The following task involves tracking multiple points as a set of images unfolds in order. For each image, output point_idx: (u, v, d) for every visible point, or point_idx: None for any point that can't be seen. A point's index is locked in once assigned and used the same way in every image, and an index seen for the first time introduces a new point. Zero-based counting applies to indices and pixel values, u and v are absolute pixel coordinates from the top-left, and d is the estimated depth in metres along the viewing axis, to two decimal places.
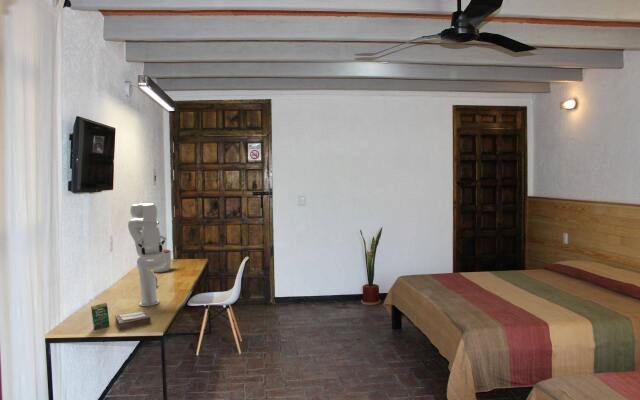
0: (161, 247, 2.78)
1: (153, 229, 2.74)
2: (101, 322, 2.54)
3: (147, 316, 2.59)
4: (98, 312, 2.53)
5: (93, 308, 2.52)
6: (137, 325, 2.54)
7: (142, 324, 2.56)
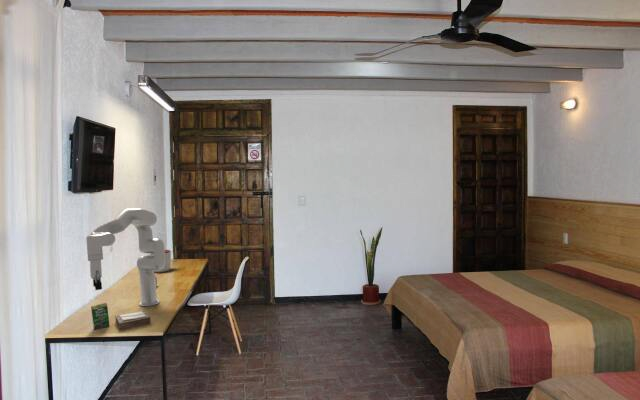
0: None
1: None
2: (101, 322, 2.54)
3: (147, 316, 2.59)
4: (98, 312, 2.53)
5: (93, 308, 2.52)
6: (137, 325, 2.54)
7: (142, 324, 2.56)
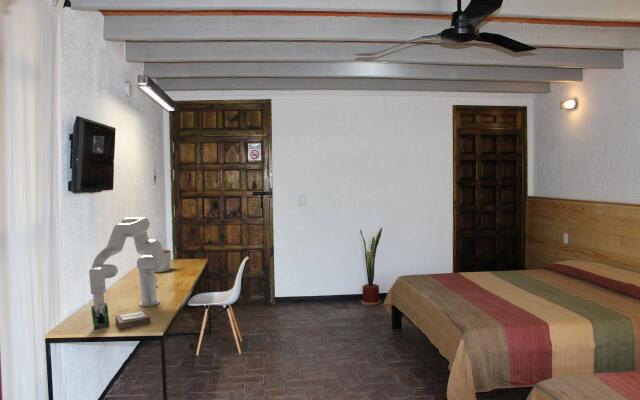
0: None
1: None
2: None
3: (147, 316, 2.59)
4: None
5: (93, 308, 2.52)
6: (137, 325, 2.54)
7: (142, 324, 2.56)
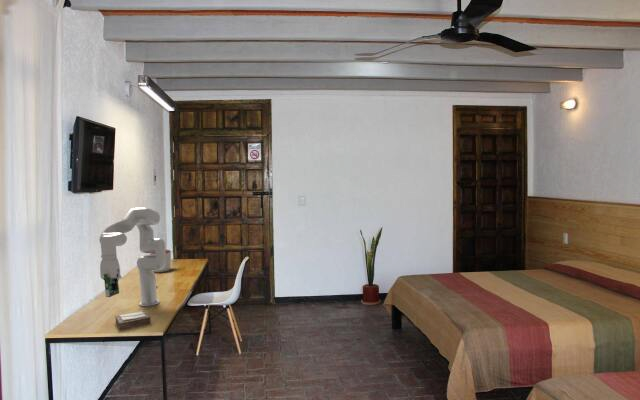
0: None
1: None
2: None
3: (147, 316, 2.59)
4: None
5: (108, 275, 2.52)
6: (137, 325, 2.54)
7: (142, 324, 2.56)
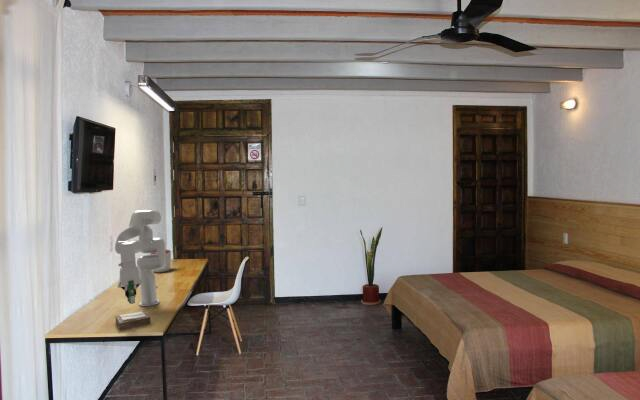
0: None
1: None
2: None
3: (147, 316, 2.59)
4: None
5: (133, 281, 2.57)
6: (137, 325, 2.54)
7: (142, 324, 2.56)
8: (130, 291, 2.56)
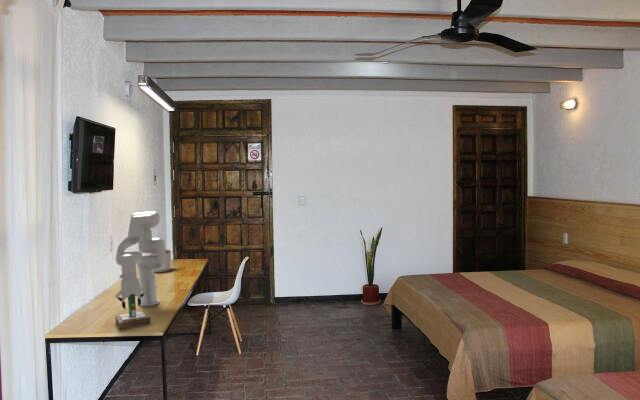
0: None
1: None
2: None
3: (147, 316, 2.59)
4: None
5: None
6: (137, 325, 2.54)
7: (142, 324, 2.56)
8: (131, 304, 2.56)
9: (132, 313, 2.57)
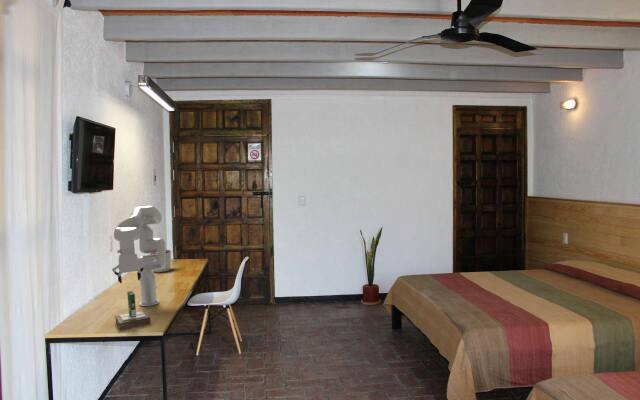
0: None
1: None
2: None
3: (147, 316, 2.59)
4: None
5: (134, 295, 2.58)
6: (137, 325, 2.54)
7: (142, 324, 2.56)
8: (131, 305, 2.56)
9: (132, 313, 2.57)
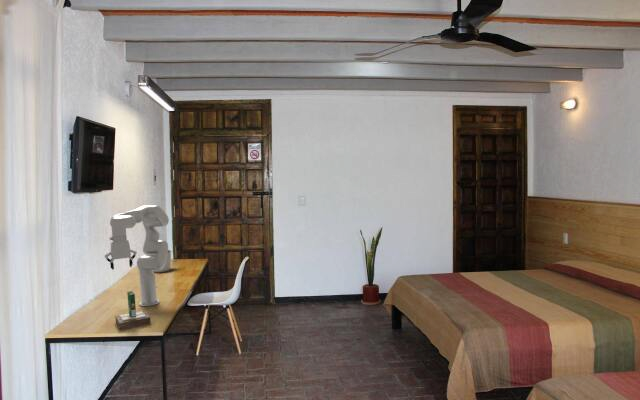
0: None
1: None
2: None
3: (147, 316, 2.59)
4: None
5: (134, 295, 2.58)
6: (137, 325, 2.54)
7: (142, 324, 2.56)
8: (131, 305, 2.56)
9: (132, 313, 2.57)
